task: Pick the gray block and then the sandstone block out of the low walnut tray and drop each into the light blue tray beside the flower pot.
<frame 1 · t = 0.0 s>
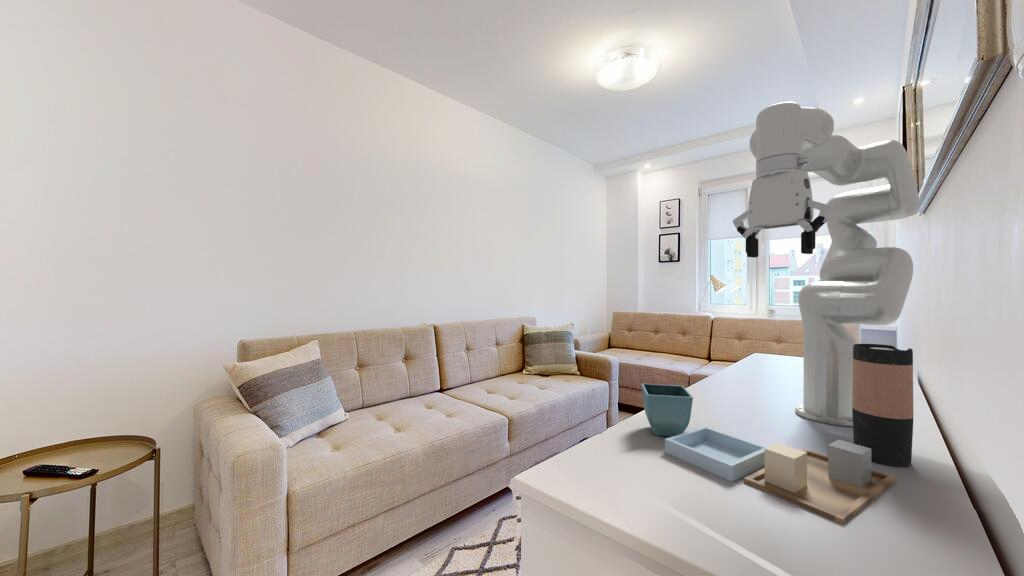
hand: (778, 255, 75), 37 cm above the tv stand, tool pointing down, fingers open, 9 cm apart
gray block: (849, 478, 59), point 1 cm above the tv stand, touching walnut tray
walnut tray: (819, 485, 58), on the tv stand
flower pot: (665, 433, 79), on the tv stand
sand stone: (785, 483, 58), point 1 cm above the tv stand, touching walnut tray
light blue tray: (716, 460, 66), on the tv stand
travel mug: (881, 462, 66), on the tv stand
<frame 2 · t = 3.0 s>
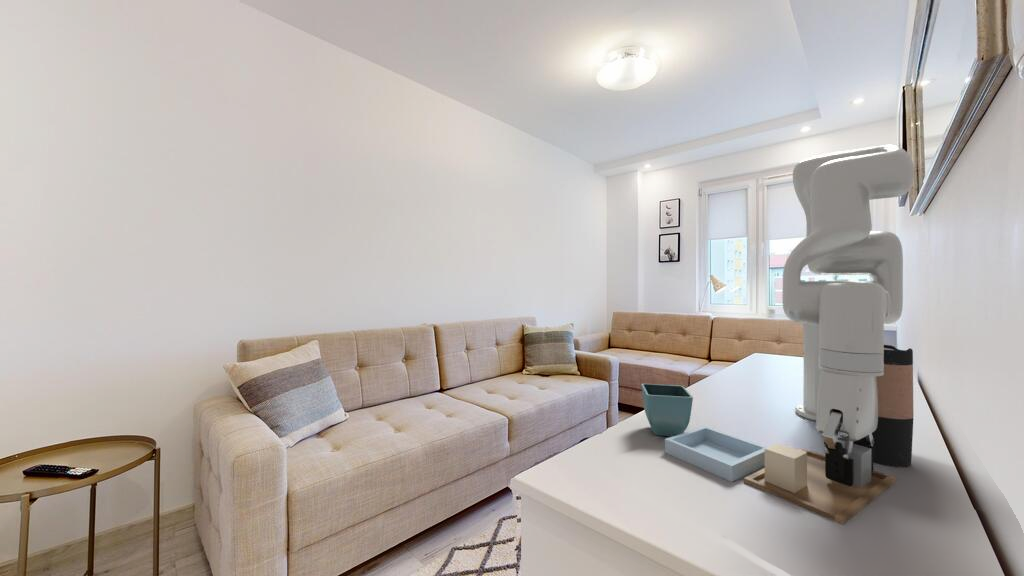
hand: (849, 474, 59), 1 cm above the tv stand, tool pointing down, fingers open, 7 cm apart
nothing on the tv stand moved.
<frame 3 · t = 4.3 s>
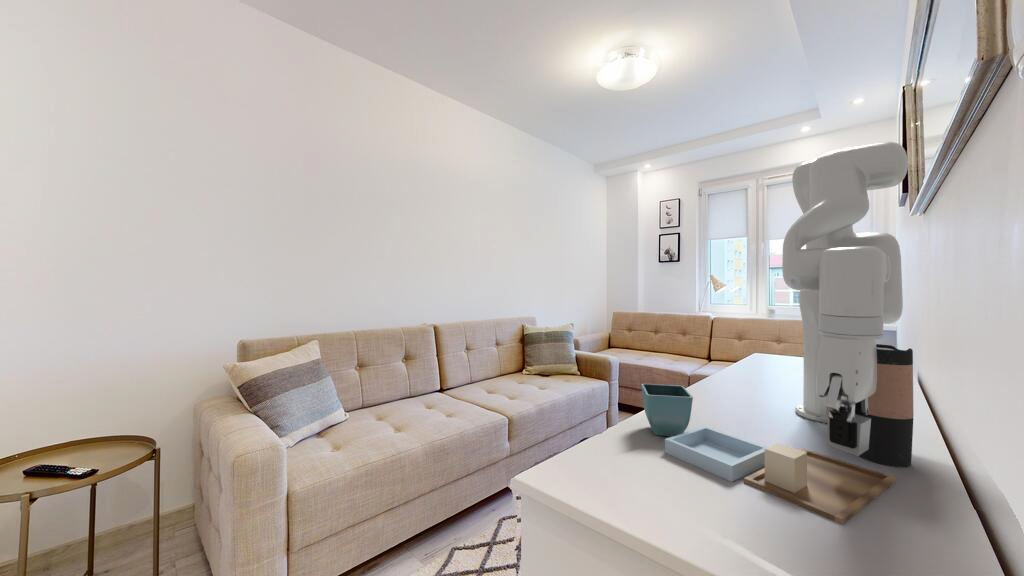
hand: (848, 440, 60), 6 cm above the tv stand, tool pointing down, fingers closed on gray block, 3 cm apart
gray block: (847, 446, 60), point 5 cm above the tv stand, touching gripper
everything else where it was.
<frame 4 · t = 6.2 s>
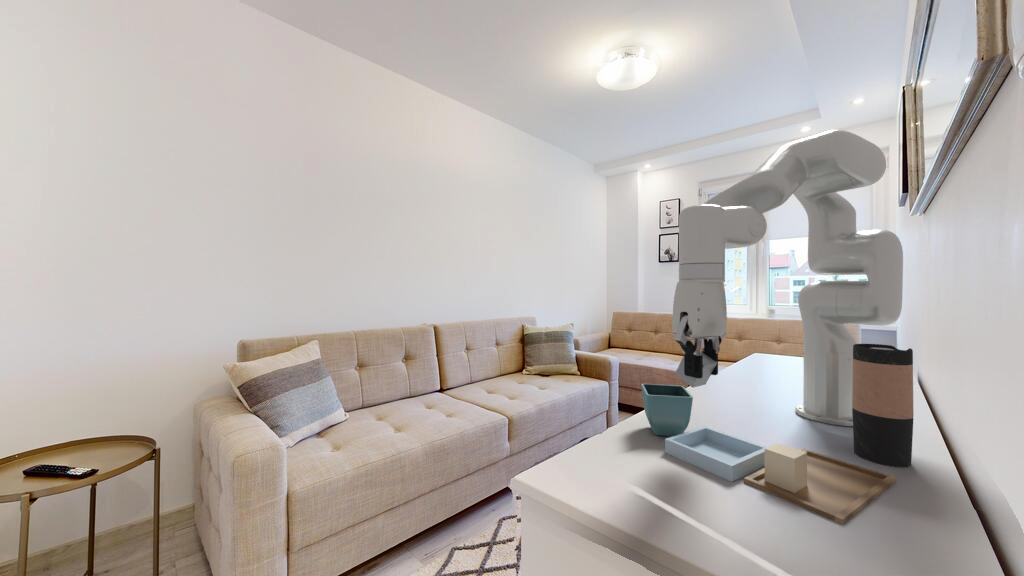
hand: (701, 374, 69), 15 cm above the tv stand, tool pointing down, fingers closed on gray block, 3 cm apart
gray block: (690, 379, 71), point 13 cm above the tv stand, tilted 27°, touching gripper
everything else where it was.
when the fingers open (4 cm above the tv stand, at t = 8.4 s): gray block stays where it is and tips over, resting on light blue tray.
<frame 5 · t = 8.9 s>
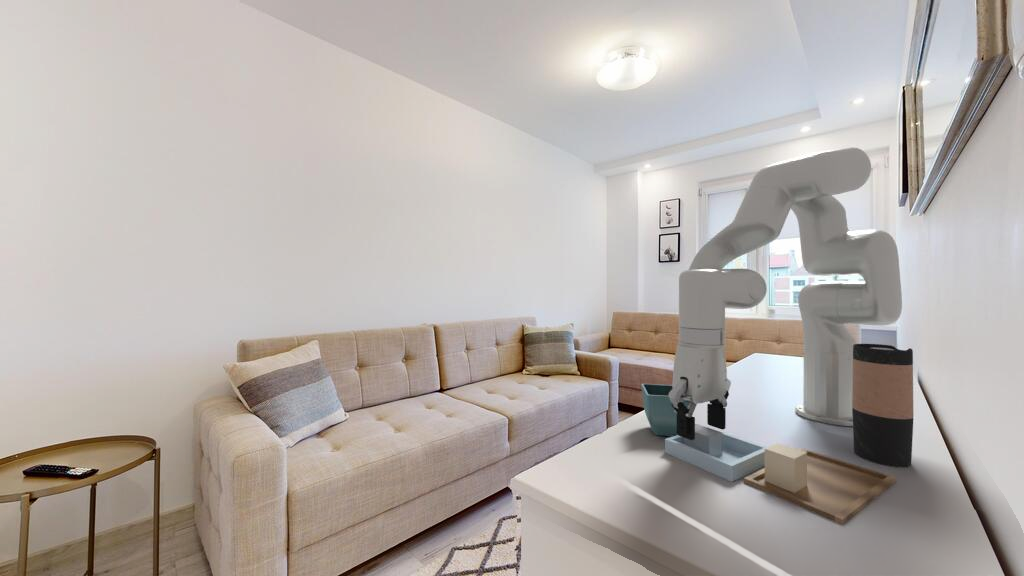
hand: (701, 431, 69), 4 cm above the tv stand, tool pointing down, fingers open, 8 cm apart
gray block: (689, 436, 71), point 3 cm above the tv stand, tilted 90°, touching light blue tray
everything else where it was.
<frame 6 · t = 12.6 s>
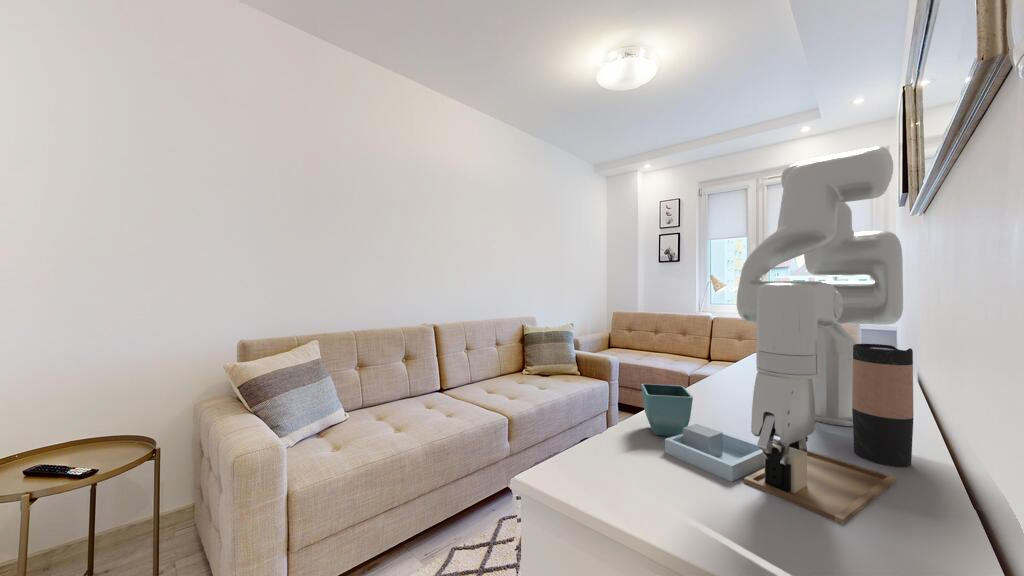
hand: (785, 481, 58), 1 cm above the tv stand, tool pointing down, fingers closed on sand stone, 4 cm apart
sand stone: (785, 483, 58), point 1 cm above the tv stand, touching gripper, walnut tray
everything else where it was.
when the fingers open (4 cm above the tv stand, at t = 17.2 s): sand stone stays where it is and tips over, resting on light blue tray.
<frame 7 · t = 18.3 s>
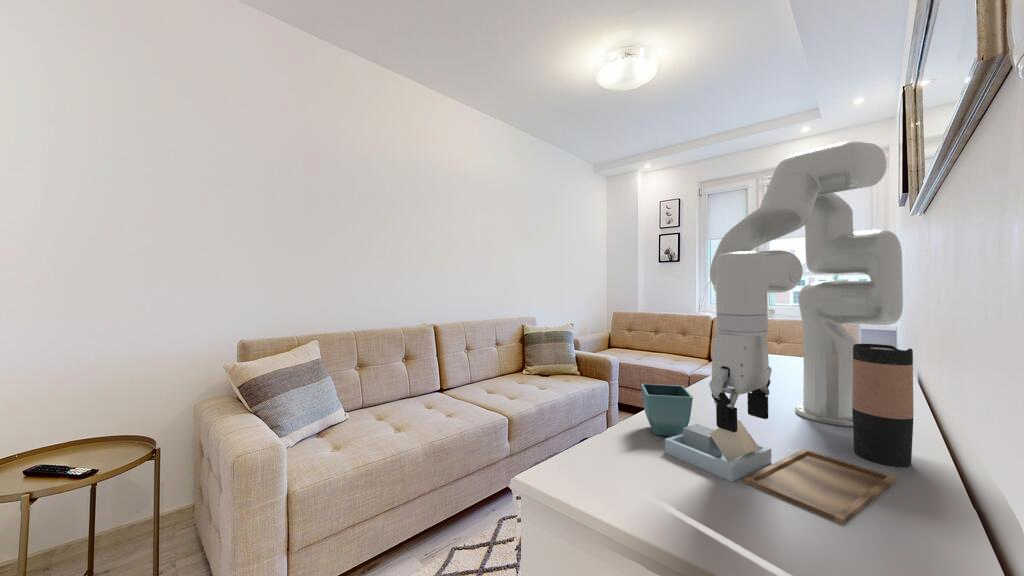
hand: (742, 422, 65), 7 cm above the tv stand, tool pointing down, fingers open, 9 cm apart
sand stone: (744, 455, 62), point 3 cm above the tv stand, tilted 43°, touching light blue tray, gripper
everything else where it was.
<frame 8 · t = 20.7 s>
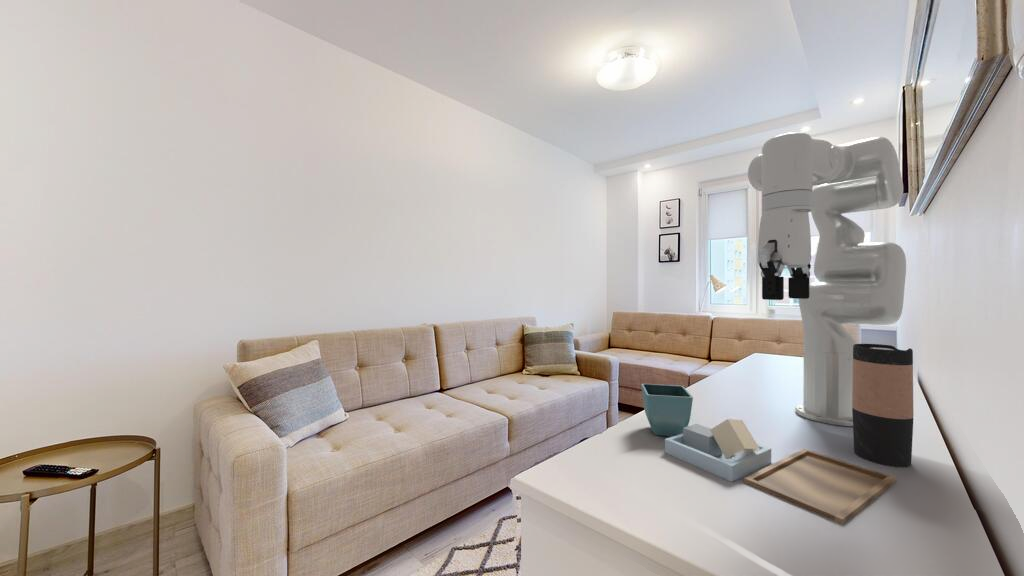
hand: (786, 299, 69), 28 cm above the tv stand, tool pointing down, fingers open, 9 cm apart
gray block: (689, 436, 71), point 3 cm above the tv stand, tilted 90°, touching light blue tray, sand stone
sand stone: (743, 453, 62), point 3 cm above the tv stand, tilted 45°, touching light blue tray, gray block
everything else where it was.
at the end: gray block inside the target area on the light blue tray (5.0 cm from its centre), point 2.6 cm above the light blue tray's base; sand stone inside the target area on the light blue tray (4.5 cm from its centre), point 2.9 cm above the light blue tray's base; the gripper is holding nothing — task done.
